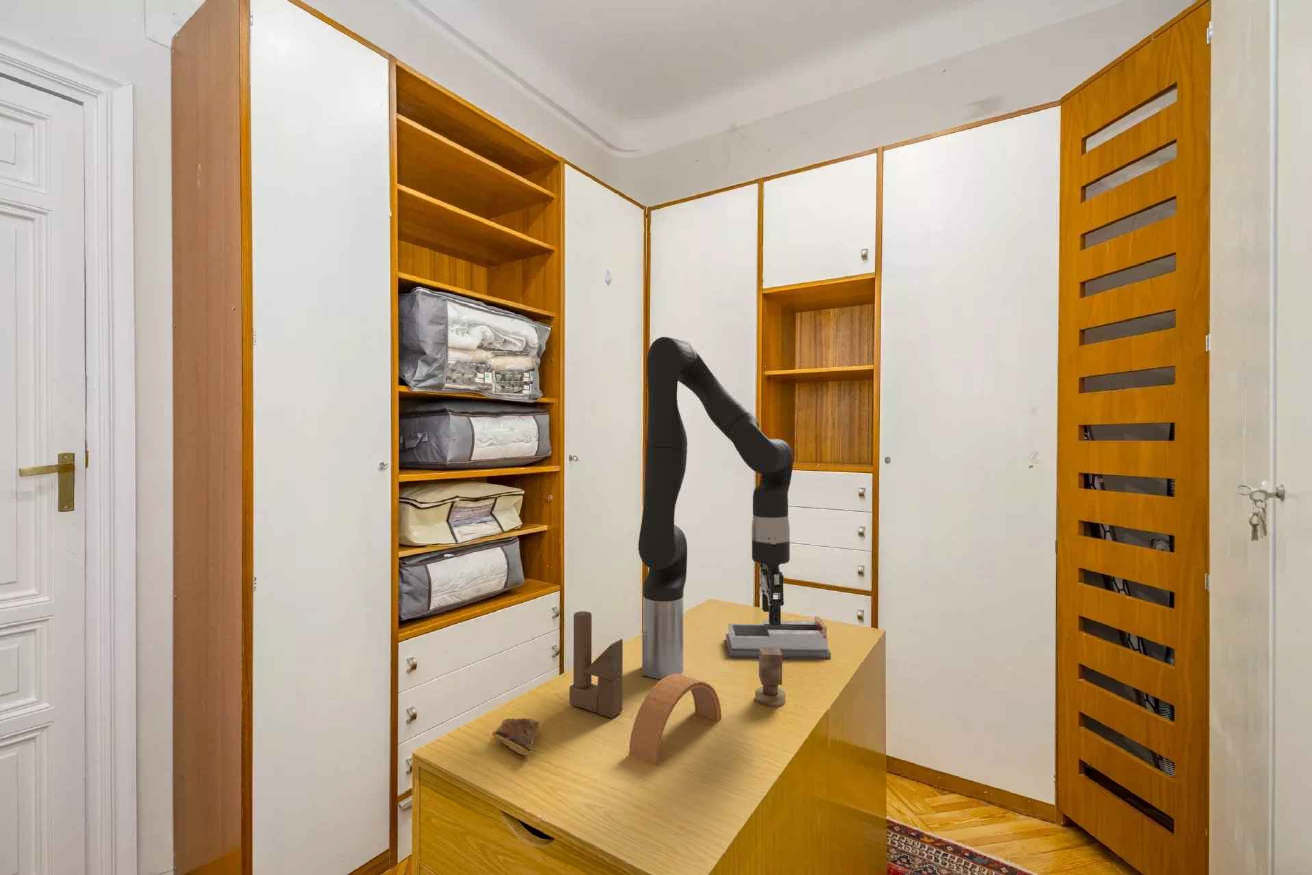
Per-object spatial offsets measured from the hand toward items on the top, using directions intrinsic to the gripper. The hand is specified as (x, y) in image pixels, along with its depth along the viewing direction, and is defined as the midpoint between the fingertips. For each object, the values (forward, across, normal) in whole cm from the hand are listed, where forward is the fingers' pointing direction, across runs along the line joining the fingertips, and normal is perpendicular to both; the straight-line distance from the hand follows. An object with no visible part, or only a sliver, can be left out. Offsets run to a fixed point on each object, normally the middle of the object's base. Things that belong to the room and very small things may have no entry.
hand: (771, 617), depth 117 cm
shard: (+18, +19, -42) cm, 50 cm away
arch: (+17, +14, -19) cm, 29 cm away
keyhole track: (+17, -28, +6) cm, 33 cm away
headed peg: (+17, 0, 0) cm, 17 cm away
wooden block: (+16, +4, -35) cm, 39 cm away
